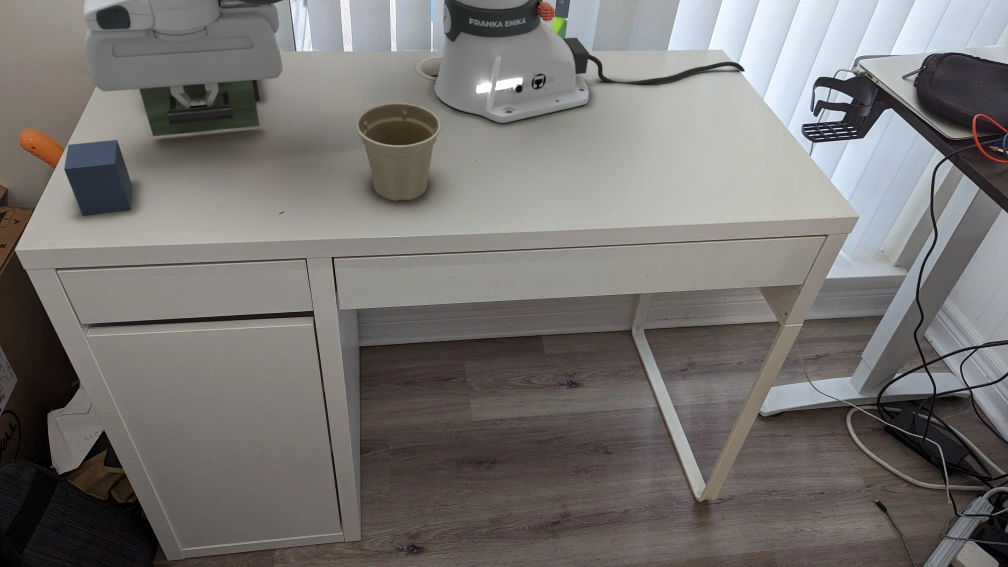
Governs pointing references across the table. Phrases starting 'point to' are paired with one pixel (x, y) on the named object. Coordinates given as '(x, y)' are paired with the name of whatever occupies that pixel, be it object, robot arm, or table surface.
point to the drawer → (201, 109)
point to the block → (98, 177)
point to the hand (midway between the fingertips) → (201, 115)
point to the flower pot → (399, 147)
